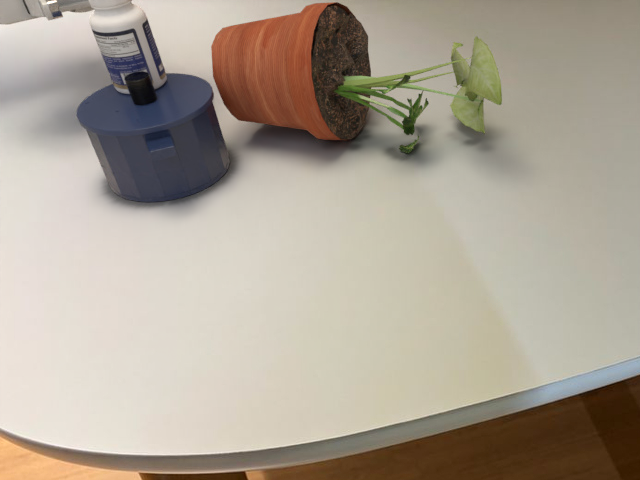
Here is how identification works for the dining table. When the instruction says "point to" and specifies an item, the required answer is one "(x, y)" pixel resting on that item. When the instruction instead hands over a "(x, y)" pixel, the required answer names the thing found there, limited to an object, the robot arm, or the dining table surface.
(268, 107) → the potted plant
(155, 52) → the pill bottle
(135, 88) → the pot lid
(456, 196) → the dining table surface
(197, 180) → the pot
